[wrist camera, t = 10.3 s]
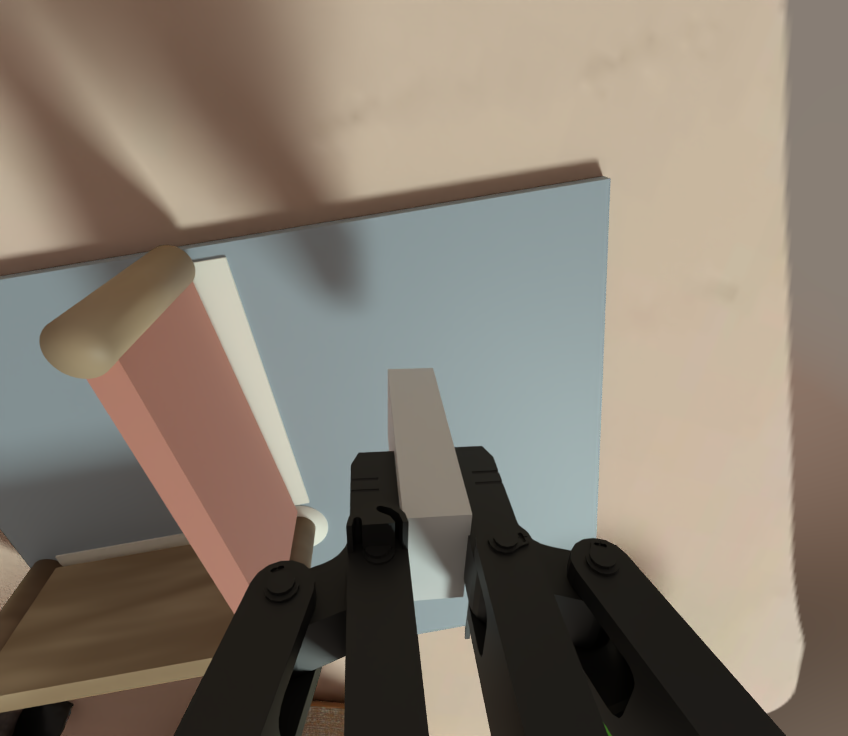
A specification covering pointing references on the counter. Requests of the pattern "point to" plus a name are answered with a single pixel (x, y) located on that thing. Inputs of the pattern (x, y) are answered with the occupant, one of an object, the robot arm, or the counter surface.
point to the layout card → (340, 369)
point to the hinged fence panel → (180, 413)
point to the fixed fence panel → (114, 624)
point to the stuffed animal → (36, 720)
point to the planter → (325, 719)
